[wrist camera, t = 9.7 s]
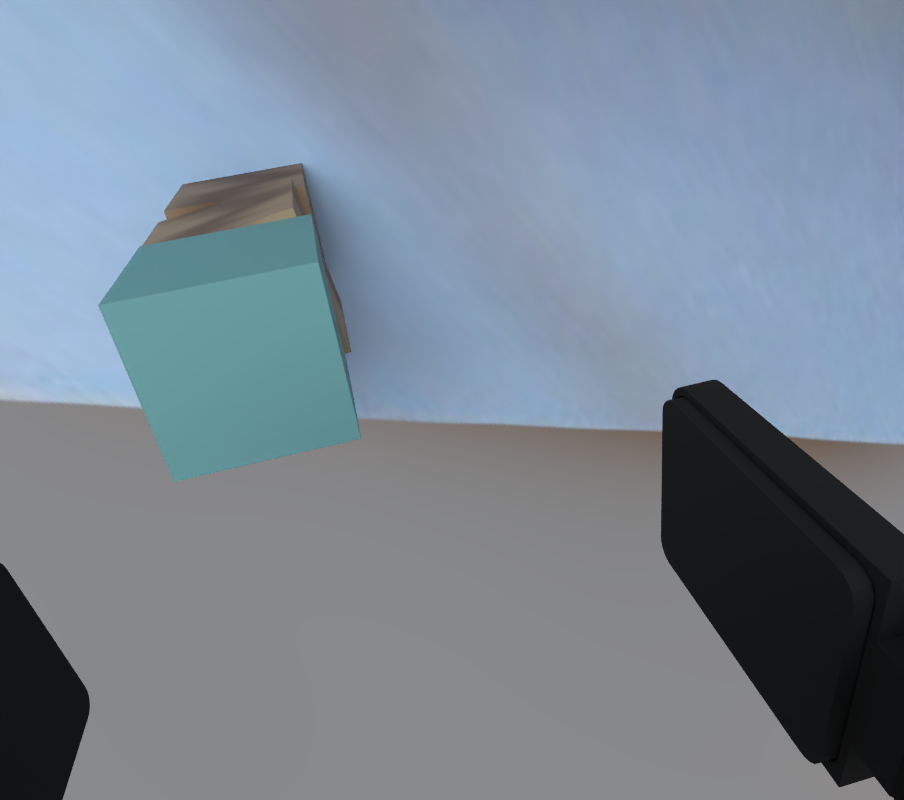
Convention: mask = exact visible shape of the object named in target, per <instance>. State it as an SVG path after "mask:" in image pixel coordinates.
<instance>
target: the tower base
mask: <svg viewBox="0 0 904 800" xmlns="http://www.w3.org/2000/svg"><path fill="white" fill-rule="evenodd" d="M291 177H292V180H293V182H294V185H295V188H296V190H297V193H298V195H299V198H300V200H301V203H302V205H303V208H304V210H305V213H306V215H309V214H311V215H312V219H313V224H314V228H315V232H316V236H317V240H318V244H319V248H320V251H321V253H322V256H323V252H322V248H321V243H320V239H319V235H318V231H317V227H316V223H315V218H314V214H313V210H312V206H311V202H310V197H309V193H308V189H307V185H306V181H305V176H304V172H303V168H302V164H301V163H300V164H294V165H289V166H283V167H278V168H272V169H267V170H261V171H255V172H250V173H244V174H239V175H233V176H228V177H222V178H216V179H211V180H205V181H200V182H194V183H189V184H183V185H182V186H181V188H180V189H179V191H178V192H177V193H176V195H175V196H174V198H173V199H172V200H171V202H170V203H169V205H168V206H167V208H166V209H165V210H164V212H165V215H166V218H167V220H168V219H171V218H174V217H177V216H179V215H182V214H185V213H188V212H191V211H194V210H197V209H200V208H203V207H206V206H209V205H212V204H215V203H218V202H221V201H224V200H227V199H230V198H232V197H235V196H238V195H241V194H244V193H247V192H250V191H253V190H256V189H259V188H262V187H265V186H268V185H271V184H274V183H277V182H280V181H283V180H286V179H288V178H291ZM323 258H324V256H323ZM324 261H325V260H324Z"/></svg>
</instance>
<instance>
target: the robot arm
mask: <svg viewBox="0 0 904 800" xmlns="http://www.w3.org/2000/svg"><path fill="white" fill-rule="evenodd" d="M661 513H662V514H661V518H662V519H661V541H662V546H663V550H664V553H665V556H666V558H667V560H668V562H669V563H670V565H671V566H672V568H673V569H674V570H675V572H676V573H677V575H678V576H679V578H680V579H681V581H682V582H683V583H684V585H685V586H686V588H687V589H688V591H689V592H690V593H691V595H692V596H693V598H694V599H695V601H696V602H697V604H698V605H699V606H700V608H701V609H702V611H703V612H704V614H705V615H706V617H707V618H708V619H709V621H710V622H711V624H712V625H713V627H714V628H715V630H716V631H717V632H718V634H719V635H720V637H721V638H722V640H723V641H724V642H725V644H726V645H727V647H728V648H729V650H730V651H731V652H732V654H733V655H734V657H735V658H736V660H737V661H738V663H739V664H740V666H741V667H742V668H743V670H744V671H745V673H746V674H747V676H748V677H749V679H750V680H751V681H752V683H753V684H754V686H755V687H756V689H757V690H758V691H759V693H760V694H761V696H762V697H763V698H764V700H765V701H766V703H767V704H768V706H769V707H770V709H771V710H772V712H773V713H774V715H775V716H776V717H777V719H778V720H779V722H780V723H781V725H782V726H783V728H784V729H785V730H786V732H787V733H788V734H789V736H790V738H791V739H792V740H793V742H794V743H795V745H796V746H797V748H798V749H799V750H800V752H801V753H802V754H803V756H804V757H805V758H806V759H807V760H809V761H810V762H811V763H814V764H816V763H820V762H821V763H822V764H823V765H824V767H825V768H826V770H827V771H828V772H829V774H830V775H831V777H832V778H833V779H834V781H835V782H836V784H837V785H838V786H839V787H842V786H845V785H848V784H852V783H855V782H858V781H861V780H865V779H868V778H871V777H875V778H876V779H877V780H878V782H879V783H880V784H881V786H882V787H883V788H884V789H885V791H886V792H887V793H888V795H889V796H891V797H893V798H894V800H904V534H903V533H902V532H900V531H899V530H898V529H897V528H896V527H894V526H893V525H892V524H891V523H890V522H888V521H887V520H886V519H885V518H883V517H882V516H881V515H880V514H879V513H878V512H876V511H875V510H874V509H873V508H872V507H870V506H869V505H868V504H867V503H865V502H864V501H863V500H862V499H861V498H859V497H858V496H857V495H856V494H855V493H853V492H852V491H851V490H850V489H849V488H847V487H846V486H845V485H844V484H843V483H841V482H840V481H839V480H838V479H836V478H835V477H834V476H833V475H832V474H831V473H829V472H828V471H827V470H826V469H825V468H823V467H822V466H821V465H820V464H819V463H817V462H816V461H815V460H814V459H813V458H811V457H810V456H809V455H808V454H807V453H805V452H804V451H803V450H802V449H801V448H799V447H798V446H797V445H796V444H794V443H793V442H792V441H791V440H790V439H789V438H787V437H786V436H785V435H784V434H783V433H781V432H780V431H779V430H778V429H777V428H775V427H774V426H773V425H772V424H771V423H769V422H768V421H767V420H766V419H764V418H763V417H762V416H761V415H760V414H758V413H757V412H756V411H755V410H754V409H752V408H751V407H750V406H749V405H748V404H746V403H745V402H744V401H743V400H742V399H740V398H739V397H738V396H737V395H736V394H734V393H733V392H732V391H731V390H730V389H728V388H727V387H726V386H725V385H724V384H722V383H721V382H719V381H718V380H710V381H705V382H701V383H697V384H693V385H689V386H684V387H680V388H677V389H676V390H675V391H674V394H673V397H672V400H668V401H666V402H665V403H664V406H663V430H662V509H661ZM89 708H90V702H89V695H88V692H87V690H86V688H85V686H84V684H83V683H82V681H81V680H80V678H79V677H78V675H77V674H76V672H75V671H74V669H73V668H72V666H71V665H70V663H69V662H68V660H67V659H66V657H65V656H64V654H63V653H62V651H61V650H60V648H59V647H58V645H57V644H56V642H55V641H54V639H53V638H52V636H51V635H50V633H49V632H48V630H47V629H46V627H45V626H44V624H43V623H42V621H41V620H40V618H39V617H38V615H37V614H36V612H35V611H34V609H33V608H32V606H31V605H30V603H29V602H28V600H27V599H26V597H25V596H24V594H23V593H22V591H21V590H20V588H19V587H18V585H17V584H16V582H15V581H14V579H13V578H12V576H11V575H10V573H9V572H8V570H7V569H6V568H5V567H4V565H3V564H1V563H0V800H62V799H63V796H64V793H65V790H66V786H67V783H68V780H69V777H70V773H71V770H72V767H73V764H74V761H75V758H76V754H77V751H78V748H79V745H80V742H81V738H82V735H83V732H84V729H85V726H86V722H87V719H88V715H89Z"/></svg>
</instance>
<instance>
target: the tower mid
mask: <svg viewBox="0 0 904 800" xmlns="http://www.w3.org/2000/svg"><path fill="white" fill-rule="evenodd" d="M303 215H306V213H305V210H304V208H303V205H302V203H301V200H300V198H299V195H298V193H297V190H296V188H295V185H294V182H293V180H292V177H291V178H288V179H286V180H283V181H280V182H277V183H274V184H271V185H268V186H265V187H262V188H259V189H256V190H253V191H250V192H247V193H244V194H241V195H238V196H235V197H232V198H230V199H227V200H224V201H221V202H218V203H215V204H212V205H209V206H206V207H203V208H200V209H197V210H194V211H191V212H188V213H185V214H182V215H179V216H177V217H174V218H171V219H168V220H165V221H162V222H159V223H158V224H157V225H156V227H155V228H154V230H153V231H152V232H151V234H150V235H149V237H148V238H147V240H146V241H145V242H144V244H143V245H142V246H144V245H150V244H155V243H160V242H166V241H171V240H176V239H181V238H187V237H192V236H197V235H203V234H208V233H213V232H219V231H224V230H229V229H234V228H240V227H245V226H250V225H256V224H261V223H266V222H272V221H277V220H282V219H287V218H293V217H298V216H303ZM319 249H320V248H319ZM320 253H321V251H320ZM321 257H322V261H323V265H324V270H325V274H326V278H327V282H328V286H329V290H330V295H331V299H332V303H333V307H334V311H335V315H336V320H337V324H338V328H339V332H340V336H341V340H342V345H343V349H344V353H345V354H346V353H349V352H351V349H350V344H349V339H348V335H347V330H346V325H345V320H344V315H343V311H342V306H341V301H340V299H339V296H338V294H337V291H336V289H335V286H334V283H333V281H332V278H331V276H330V273H329V271H328V268H327V266H326V263H325V261H324V258H323V256H322V253H321Z"/></svg>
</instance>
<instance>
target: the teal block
mask: <svg viewBox="0 0 904 800" xmlns="http://www.w3.org/2000/svg"><path fill="white" fill-rule="evenodd" d="M98 306H99V308H100V310H101V313H102V315H103V317H104V320H105V322H106V324H107V327H108V329H109V331H110V334H111V336H112V338H113V341H114V343H115V345H116V348H117V350H118V352H119V355H120V357H121V359H122V362H123V364H124V366H125V369H126V371H127V373H128V376H129V378H130V380H131V383H132V385H133V387H134V390H135V392H136V394H137V397H138V399H139V401H140V404H141V406H142V408H143V411H144V413H145V415H146V418H147V420H148V422H149V425H150V427H151V429H152V432H153V434H154V436H155V439H156V441H157V443H158V446H159V448H160V450H161V453H162V455H163V457H164V460H165V462H166V464H167V467H168V469H169V471H170V474H171V476H172V478H173V480H174V482H175V481H179V480H184V479H188V478H193V477H197V476H201V475H206V474H210V473H214V472H219V471H223V470H227V469H232V468H236V467H240V466H244V465H249V464H253V463H257V462H262V461H266V460H270V459H275V458H279V457H283V456H287V455H292V454H296V453H300V452H305V451H309V450H313V449H318V448H322V447H326V446H331V445H335V444H339V443H343V442H348V441H352V440H357V439H361V435H360V431H359V425H358V419H357V414H356V409H355V404H354V398H353V393H352V388H351V382H350V377H349V372H348V366H347V361H346V357H345V353H344V349H343V345H342V340H341V336H340V332H339V328H338V324H337V320H336V315H335V311H334V307H333V303H332V299H331V295H330V290H329V286H328V282H327V278H326V274H325V270H324V265H323V261H322V257H321V253H320V249H319V244H318V240H317V236H316V232H315V228H314V224H313V219H312V215H311V214H309V215H303V216H298V217H293V218H287V219H282V220H277V221H272V222H266V223H261V224H256V225H250V226H245V227H240V228H234V229H229V230H224V231H219V232H213V233H208V234H203V235H197V236H192V237H187V238H181V239H176V240H171V241H166V242H160V243H155V244H150V245H144V246H140V247H139V248H138V250H137V251H136V253H135V254H134V256H133V257H132V258H131V260H130V261H129V263H128V264H127V266H126V267H125V268H124V270H123V271H122V273H121V274H120V275H119V277H118V278H117V280H116V281H115V283H114V284H113V285H112V287H111V288H110V290H109V291H108V293H107V294H106V295H105V297H104V298H103V300H102V301H101V302H100V304H99V305H98Z"/></svg>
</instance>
